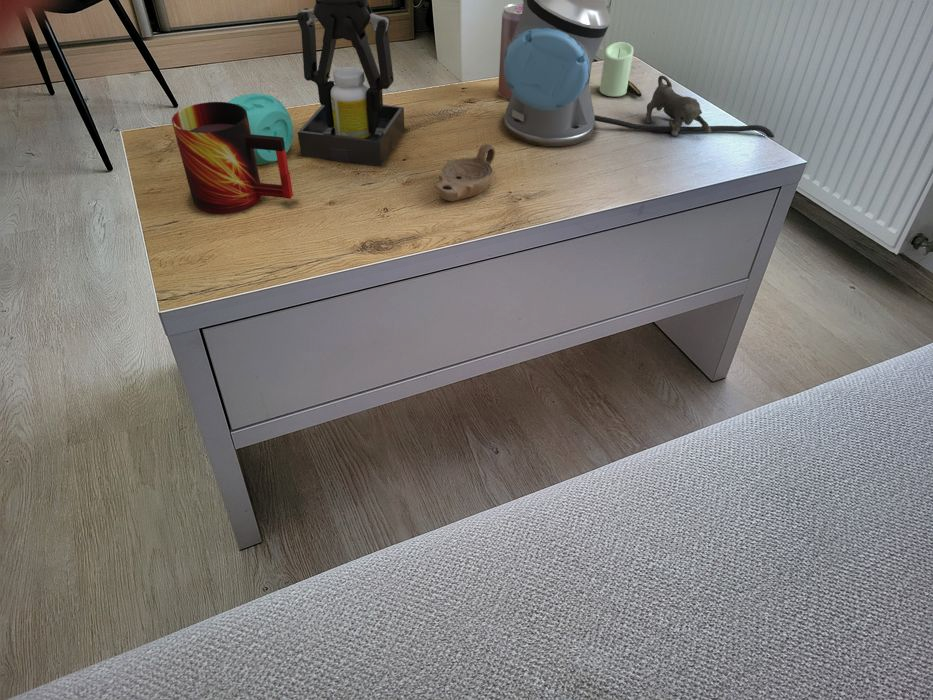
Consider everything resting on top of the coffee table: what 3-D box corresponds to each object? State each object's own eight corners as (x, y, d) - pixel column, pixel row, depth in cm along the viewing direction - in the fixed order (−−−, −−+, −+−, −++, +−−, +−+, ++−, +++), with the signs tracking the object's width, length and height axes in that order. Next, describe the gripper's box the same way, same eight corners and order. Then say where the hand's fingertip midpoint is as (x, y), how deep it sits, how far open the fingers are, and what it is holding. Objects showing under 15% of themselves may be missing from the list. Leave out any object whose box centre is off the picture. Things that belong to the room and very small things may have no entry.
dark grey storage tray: (404, 129, 120) (403, 106, 118) (381, 166, 111) (379, 142, 108) (330, 121, 122) (327, 98, 120) (300, 156, 113) (297, 132, 110)
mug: (295, 205, 102) (282, 125, 94) (193, 218, 99) (171, 136, 91) (288, 173, 108) (275, 96, 100) (192, 184, 105) (172, 105, 97)
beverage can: (530, 89, 134) (537, 3, 124) (529, 102, 130) (536, 14, 120) (499, 87, 135) (503, 2, 125) (497, 100, 130) (501, 12, 120)
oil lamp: (460, 215, 101) (461, 183, 97) (419, 198, 104) (418, 166, 101) (512, 179, 109) (514, 148, 105) (473, 164, 112) (474, 134, 108)
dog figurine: (638, 118, 126) (646, 76, 121) (663, 112, 128) (672, 70, 123) (685, 146, 118) (696, 102, 113) (711, 139, 120) (722, 95, 115)
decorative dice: (224, 155, 112) (213, 105, 107) (263, 137, 117) (254, 88, 112) (259, 170, 109) (249, 120, 103) (297, 151, 113) (290, 102, 108)
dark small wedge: (609, 73, 142) (608, 65, 141) (614, 71, 142) (614, 64, 141) (638, 100, 131) (638, 92, 130) (644, 98, 132) (644, 90, 131)
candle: (620, 99, 131) (627, 53, 126) (595, 92, 133) (601, 47, 128) (630, 90, 135) (638, 45, 129) (605, 84, 136) (612, 39, 131)
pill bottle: (382, 139, 117) (377, 71, 109) (353, 152, 113) (346, 83, 106) (356, 128, 120) (350, 61, 112) (327, 140, 116) (319, 71, 109)
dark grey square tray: (405, 129, 120) (404, 118, 119) (381, 166, 111) (380, 154, 109) (330, 120, 122) (328, 109, 121) (300, 156, 113) (298, 144, 111)
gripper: (263, -31, 98) (287, 129, 113) (397, -19, 95) (404, 144, 111) (284, -44, 103) (305, 110, 119) (412, -34, 101) (417, 123, 116)
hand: (353, 126), depth 115 cm, fingers closed on pill bottle, 6 cm apart
